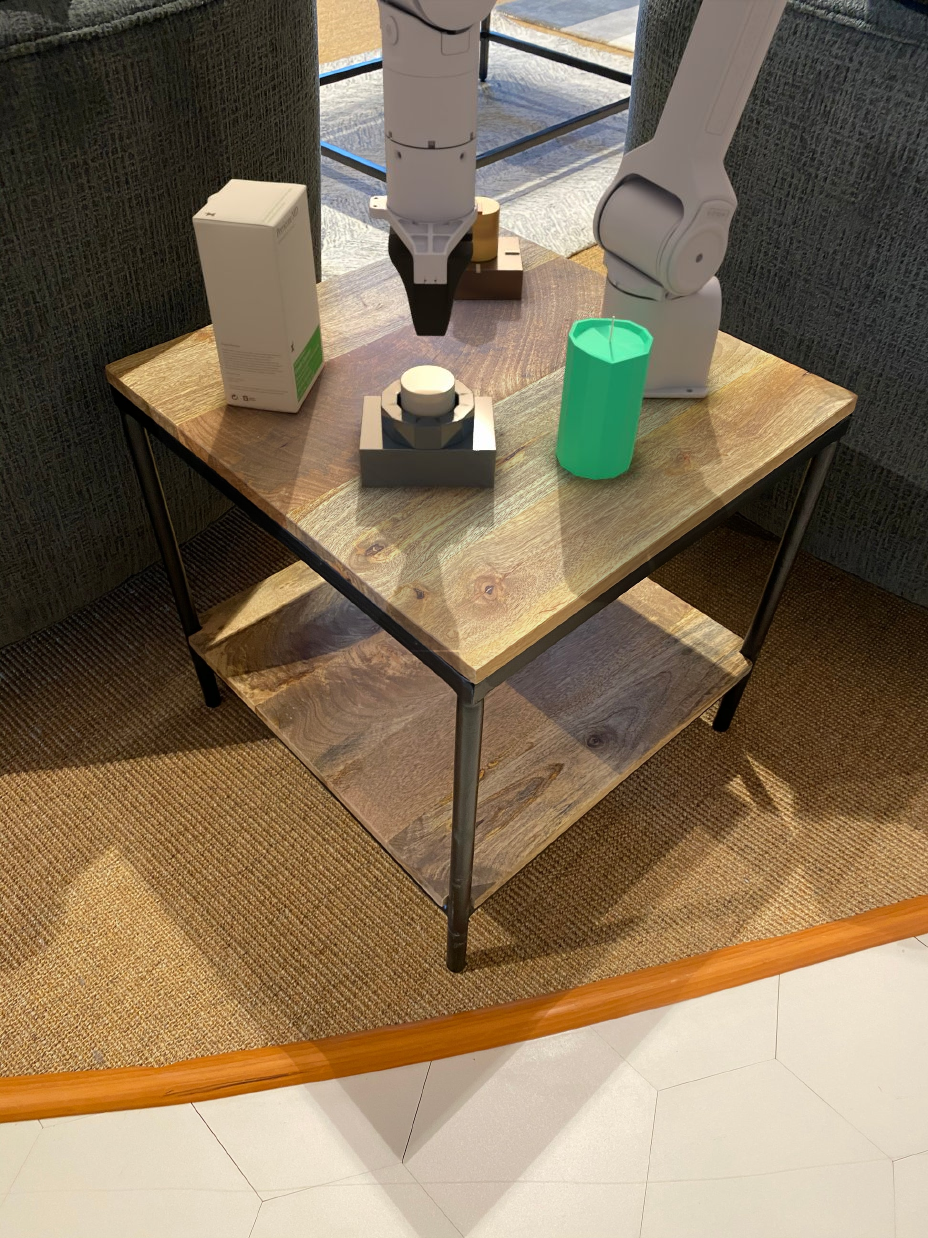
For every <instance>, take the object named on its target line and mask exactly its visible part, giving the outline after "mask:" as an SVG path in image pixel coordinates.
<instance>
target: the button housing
mask: <svg viewBox="0 0 928 1238" xmlns="http://www.w3.org/2000/svg"><path fill="white" fill-rule="evenodd" d="M400 379H401V378H399V379H396V380H394V381H392V382H391V383H390V384H389V385H388V386H387V387H385V389H383V390H382V392H381V394H380V395H363V399H362V411H361V422H360V434H359V445H358V446H359V447H358V455H359V470H360V473H359V474H360V486H361V488H453V489H454V488H455V489H456V488H464V489H465V488H468V489H469V488H471V489H473V488H477V489H479V488H480V489H481V488H483V489H484V488H487V489H489V488H490V489H491V488H492V489H493V488H495V483H496V482H495V481H496V464H497V463H496V462H497V442H496V440H497V439H496V427H495V411H494V400H493V396H475V393H474V392H473V390H472V389H471V388H469V387H468V386H467V385H466V384H465V383H464V382H462V380H459V379H456V378H455V406H454V408H453V410H452V411H451V412H450V413H448V414H445V415H442V416H439V417H417V416H414V415H411V414H408V413H406V412H405V411H404V410H403V409H402V407H401V392H400Z"/></svg>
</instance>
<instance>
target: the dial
mask: <svg viewBox="0 0 928 1238" xmlns="http://www.w3.org/2000/svg"><path fill="white" fill-rule="evenodd" d="M475 199H476V201H477V204H478V214H477V219H476V220H475V222H474V223H473V225H472V227H473V240H472V242H473V256H472V259H471V261H475V262H481V261H488V260H491V259H493V258H495V257H496V256H497V254H498V239H499V237H500V219H501V218H500V217H501V205H500V203H499V202H498V201H496V200H495V199H494V198H490V197H486V196H475Z"/></svg>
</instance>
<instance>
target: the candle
mask: <svg viewBox="0 0 928 1238" xmlns="http://www.w3.org/2000/svg"><path fill="white" fill-rule="evenodd" d="M614 318H615V316H613V318H612V319H609V318H601V317H599V318H598V317H597V318H595V317H589V318H588V317H587V318H584V319H579V320H575V321H573V323H572V325H571V328H570V330H569V332H568V335H567V344H566V354H565V363H564V364H565V365H564V372H563V373H564V374H563V381H562V382H563V383H562V391H561V401H560V410H559V420H558V429H557V438H556V439H557V440H556V447H555V456H556V458H557V460H558V463H559V465H560V467H561V468H563V469H565V470H566V471H568V472H569V473H570V474H572V475H574V476H576V477H579V478H580V477H581V478H586V479H590V480H594V481H597V480H607V479H615V478H616V477H619V476H620V475H621V474H623V473H625V472H627V471H629V469H630V466H631V463H632V460H633V457H634V451H635V445H636V440H637V434H638V427H639V422H640V417H641V412H642V411H641V410H642V407H643V406H642V405H643V400H644V397H643V395H644V389H645V383H646V378H647V372H648V366H649V361H650V355H651V349H652V344H653V337H652V336H651V335H650V333H649V332H648V330H647V329H646V328H644V327H642V326H640V325H638V324H636V323H634V322H632V321H629V320H619V319H614Z"/></svg>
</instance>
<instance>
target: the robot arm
mask: <svg viewBox="0 0 928 1238" xmlns="http://www.w3.org/2000/svg"><path fill="white" fill-rule="evenodd" d="M497 1H498V0H376V2H377V3H376V4H377V6H378V12H379V13H378V14H379V28H380V31H381V62H382V63H381V65H382V88H383V89H382V90H383V93H382V94H383V121H384V122H383V123H384V150H385V176H386V177H385V179H386V181H385V182H386V183H385V185H386V195H373V196H371V197H370V198H369V202H368V215H369V217H370V218H371V219H375V220H385V221H386V222H387V223H388V224H389V225H390V226H389V233H388V240H387V241H388V242H387V253H388V256H389V260H390V262H391V263H392V265H393V267H394V268H395V270H396V271H397V273H398V275H399V277H400V279H401V282H402V284H403V287H404V290H405V293H406V297H407V301H408V306H409V313H410V316H411V321H412V325H413V328H414V331H415V333H416V336H418V337H445V336H446V334H447V331H448V328H449V325H450V321H451V316H452V311H453V306H454V302H455V299H454V297H455V293H456V290H457V287H458V284H459V282H460V279H461V277H462V275H463V273H464V272H465V270H466V268H467V267H468V265H469V264H470V262H471V259H472V256H473V242H472V240H473V227H472V225H473V223H474V222H475V220H476V219H477V214H478V204H477V201H476V199H475V197H476V179H477V178H476V177H477V175H476V174H477V173H476V172H477V147H478V146H477V145H478V110H479V109H478V107H479V79H480V78H479V74H480V47H481V22H483V21H484V20H486V19H487V17H489V14H490V13H491V12H492V10H493V9H494V7H495V5H496V4H497ZM787 4H788V0H702V3H701V5H700V8H699V11H698V13H697V16H696V19H695V22H694V25H693V28H692V31H691V32H690V35H689V38H688V42H687V44H686V47H685V48H684V49H685V50H684V52H683V55H682V58H681V61H680V63H679V66H678V69H677V72H676V75H675V77H674V80H673V83H672V86H671V88H670V91H669V94H668V97H667V99H666V102H665V105H664V108H663V110H662V114H661V117H660V118H659V122H658V124H657V127H656V130H655V133H654V136H653V138H652V139H651V140H649V141H647V142H645V143H644V144H642V145H639V146H637V147H636V148H634V149H632V150H630V151H629V152H627V153H625V154H624V155H623V156H622V159H621V162H620V164H619V167H618V170H617V172H616V174H615V176H614V178H613V180H612V181H611V183H610V184H609V186H608V187H607V188H606V190H605V191H604V192H603V194H602V195H601V197H600V199H599V201H598V203H597V205H596V208H595V210H594V214H593V217H592V234H593V238H594V240H595V243H596V244H597V246H598V247H599V248H600V249H601V250H603V258H602V265H603V266H604V267H605V268H606V277H605V284H604V292H603V298H602V305H601V306H602V308H601V314H600V318H609V319H612V318H613V316H615V318H614V319H619V320H629V321H632V322H634V323H636V324H638V325H640V326H642V327H644V328H646V329H647V330H648V332H649V333H650V335H651V336H652V337H653V344H652V349H651V355H650V361H649V366H648V372H647V378H646V383H645V389H644V395H643V398H655V399H656V398H659V399H660V398H666V399H667V398H670V399H672V398H675V399H676V398H679V399H680V398H682V399H683V398H684V399H685V398H687V399H692V398H693V399H702V398H703V399H704V398H706V397H707V395H708V390H707V388H706V386H707V382H708V378H709V374H710V369H711V364H712V360H713V356H714V352H715V349H716V348H715V347H716V344H717V339H718V334H719V329H720V325H721V319H722V317H721V316H722V304H723V303H722V302H723V299H722V290H721V289H722V288H721V284H720V280H719V279H718V277H717V276H715V275H716V273H717V272H718V270H719V269H720V267H721V266H722V263H723V261H724V259H725V255H726V252H727V248H728V243H729V242H728V241H729V233H730V231H729V230H730V226H731V223H732V219H733V217H734V213H735V212H736V210H737V207H738V198H737V196H736V193H735V191H734V188H733V186H732V184H731V181H730V178H729V176H728V173H727V171H726V168H725V164H724V159H725V157H726V154H727V151H728V149H729V147H730V144H731V142H732V140H733V137H734V134H735V131H736V129H737V126H738V125H739V122H740V119H741V117H742V115H743V112H744V109H745V107H746V105H747V102H748V100H749V97H750V95H751V92H752V90H753V87H754V84H755V82H756V79H757V77H758V75H759V73H760V70H761V67H762V65H763V62H764V60H765V57H766V55H767V52H768V51H769V47H770V45H771V42H772V40H773V38H774V35H775V33H776V30H777V28H778V25H779V22H780V20H781V18H782V15H783V13H784V10H785V8H786V5H787Z"/></svg>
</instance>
